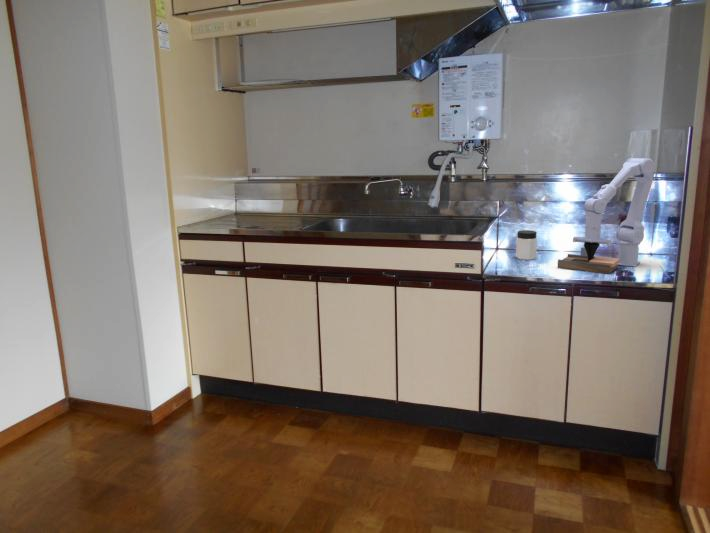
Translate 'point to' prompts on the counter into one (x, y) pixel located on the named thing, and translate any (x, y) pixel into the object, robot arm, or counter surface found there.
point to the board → (583, 264)
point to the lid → (605, 261)
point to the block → (583, 251)
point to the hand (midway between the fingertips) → (590, 260)
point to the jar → (526, 245)
